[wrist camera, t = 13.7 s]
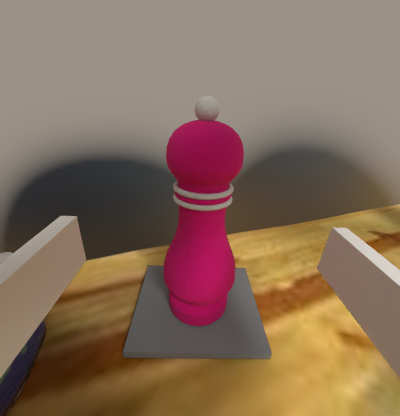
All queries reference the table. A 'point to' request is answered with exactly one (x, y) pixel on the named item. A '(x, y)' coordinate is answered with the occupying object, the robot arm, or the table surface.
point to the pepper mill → (202, 215)
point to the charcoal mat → (195, 335)
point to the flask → (19, 365)
